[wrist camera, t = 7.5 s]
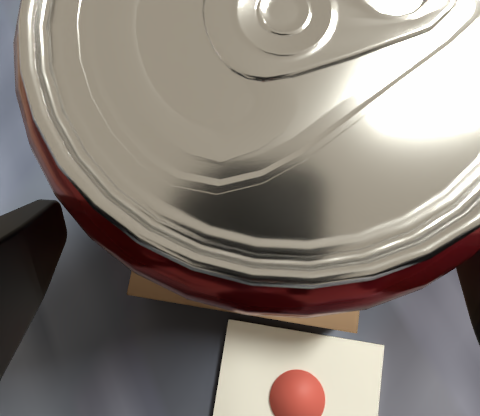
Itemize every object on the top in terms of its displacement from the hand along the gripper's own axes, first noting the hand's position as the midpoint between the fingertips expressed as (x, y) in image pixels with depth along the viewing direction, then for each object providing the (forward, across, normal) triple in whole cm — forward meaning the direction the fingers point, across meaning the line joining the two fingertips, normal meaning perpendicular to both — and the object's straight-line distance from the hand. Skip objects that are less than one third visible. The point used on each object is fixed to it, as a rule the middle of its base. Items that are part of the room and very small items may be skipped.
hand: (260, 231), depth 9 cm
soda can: (+7, 0, +4) cm, 8 cm away
